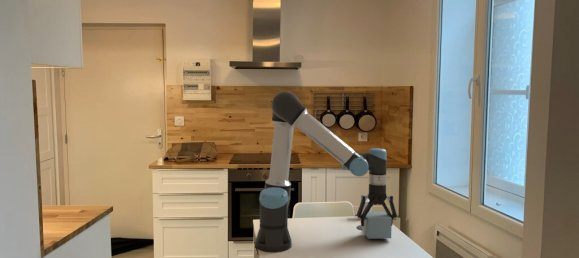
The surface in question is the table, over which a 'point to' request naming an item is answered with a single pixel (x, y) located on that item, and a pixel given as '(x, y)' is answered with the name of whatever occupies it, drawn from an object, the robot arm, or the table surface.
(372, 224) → the blue-grey block
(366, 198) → the robot arm
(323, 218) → the table surface
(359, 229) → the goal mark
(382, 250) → the table surface
